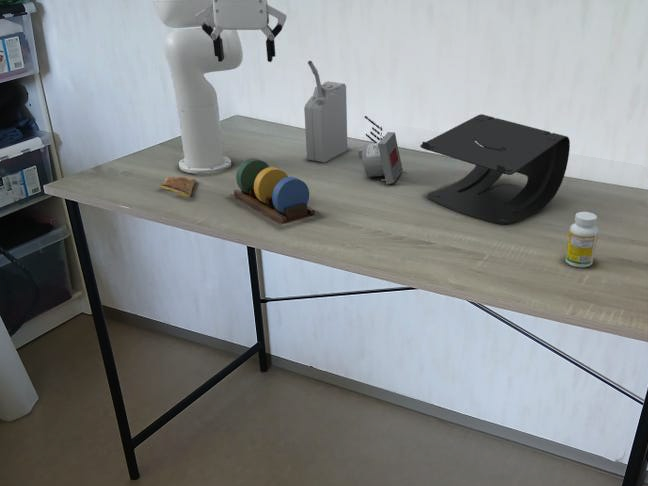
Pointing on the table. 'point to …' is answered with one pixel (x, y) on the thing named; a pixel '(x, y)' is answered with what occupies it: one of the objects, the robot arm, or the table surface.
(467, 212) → the laptop stand
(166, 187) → the shard
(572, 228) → the supplement bottle
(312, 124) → the gas can
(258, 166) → the green disc
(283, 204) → the blue disc
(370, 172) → the voltmeter
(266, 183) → the mustard disc
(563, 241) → the table surface
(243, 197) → the disc rack
